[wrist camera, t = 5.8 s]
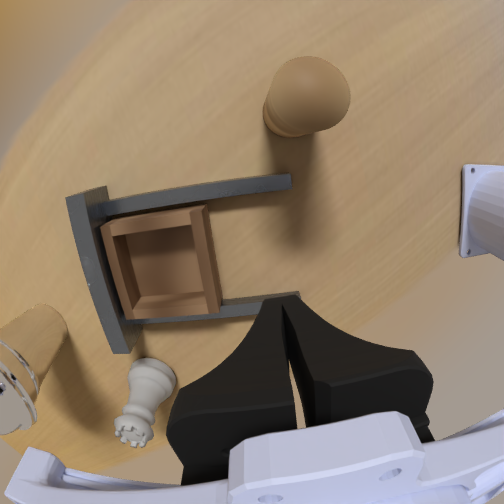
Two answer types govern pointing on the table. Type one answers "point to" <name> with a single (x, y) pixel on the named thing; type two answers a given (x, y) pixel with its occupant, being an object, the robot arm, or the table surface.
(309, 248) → the table surface
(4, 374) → the cup with straw
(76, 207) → the rail
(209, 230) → the walnut socket block
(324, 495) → the robot arm
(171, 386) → the rook chess piece
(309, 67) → the oak dowel
